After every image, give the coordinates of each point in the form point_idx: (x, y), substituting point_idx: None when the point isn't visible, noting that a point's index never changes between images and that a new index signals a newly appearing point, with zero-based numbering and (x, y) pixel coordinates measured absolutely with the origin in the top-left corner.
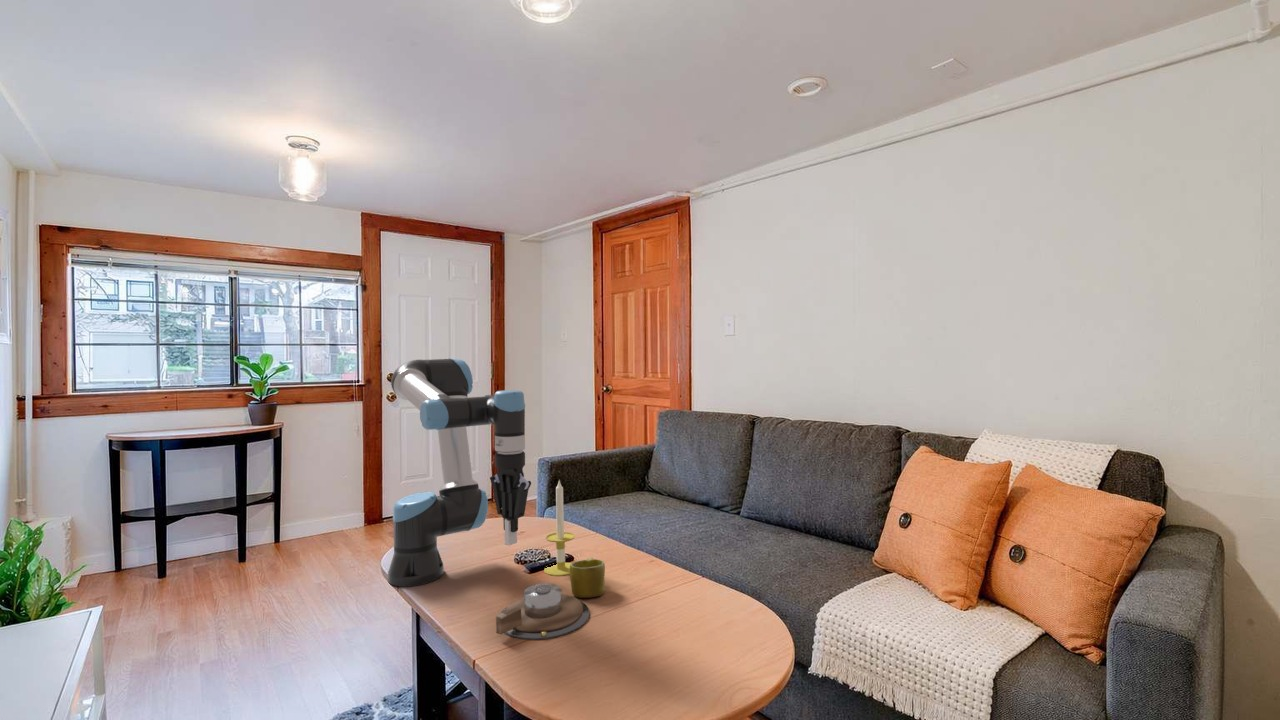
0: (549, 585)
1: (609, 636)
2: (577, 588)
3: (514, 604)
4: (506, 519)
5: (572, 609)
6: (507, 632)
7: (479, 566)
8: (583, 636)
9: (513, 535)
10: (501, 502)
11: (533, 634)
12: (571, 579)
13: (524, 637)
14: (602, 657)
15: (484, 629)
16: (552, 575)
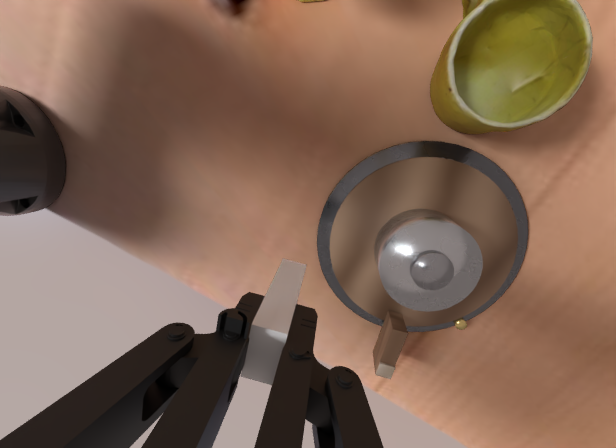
0: (431, 231)
1: (598, 279)
2: (470, 132)
3: (337, 243)
4: (255, 378)
5: (488, 227)
6: (380, 325)
7: (78, 28)
8: (537, 292)
9: (297, 299)
10: (133, 427)
11: None
12: (450, 119)
13: (421, 330)
14: (601, 349)
15: (326, 315)
16: (312, 1)
